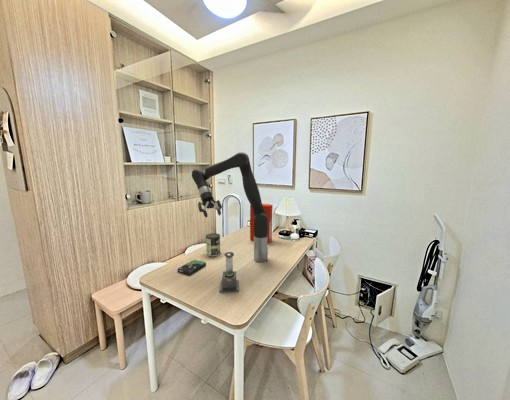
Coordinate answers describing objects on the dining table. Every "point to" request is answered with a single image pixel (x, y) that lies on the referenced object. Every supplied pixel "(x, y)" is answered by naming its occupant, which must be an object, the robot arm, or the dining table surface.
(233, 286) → the stand
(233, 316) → the dining table surface
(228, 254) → the column
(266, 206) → the file binder
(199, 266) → the disk drive
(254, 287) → the dining table surface
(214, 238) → the coffee can
